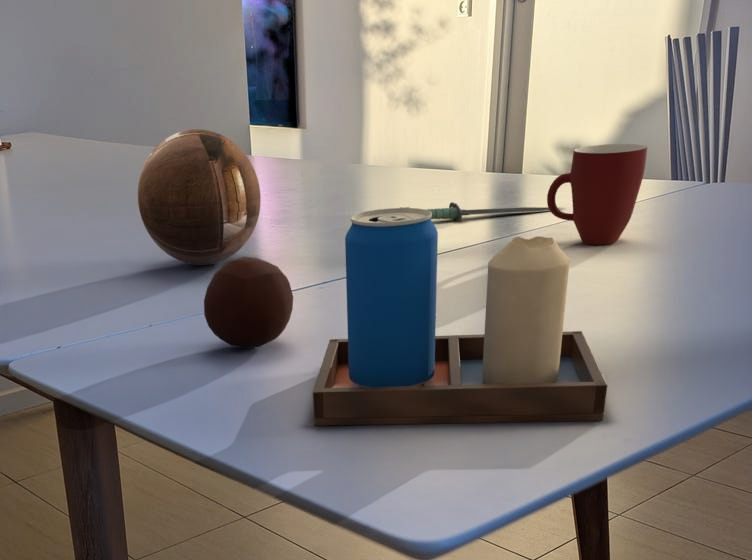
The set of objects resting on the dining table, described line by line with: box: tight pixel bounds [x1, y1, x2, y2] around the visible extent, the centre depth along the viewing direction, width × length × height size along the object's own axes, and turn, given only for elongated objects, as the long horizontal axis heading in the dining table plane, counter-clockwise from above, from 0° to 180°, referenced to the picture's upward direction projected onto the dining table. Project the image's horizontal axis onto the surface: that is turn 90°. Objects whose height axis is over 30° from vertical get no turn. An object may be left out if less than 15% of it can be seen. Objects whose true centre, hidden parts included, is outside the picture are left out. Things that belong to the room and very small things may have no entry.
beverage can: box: [344, 207, 439, 387], centre depth 67 cm, size 6×6×12 cm
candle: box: [482, 236, 571, 384], centre depth 66 cm, size 6×6×10 cm
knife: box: [400, 201, 560, 222], centre depth 129 cm, size 23×2×5 cm
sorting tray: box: [312, 330, 608, 426], centre depth 69 cm, size 20×13×2 cm, turn 82°
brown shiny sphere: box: [137, 128, 262, 266], centre depth 112 cm, size 15×15×15 cm
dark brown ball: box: [203, 256, 294, 349], centre depth 82 cm, size 8×9×8 cm
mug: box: [546, 143, 648, 246], centre depth 108 cm, size 11×8×10 cm
